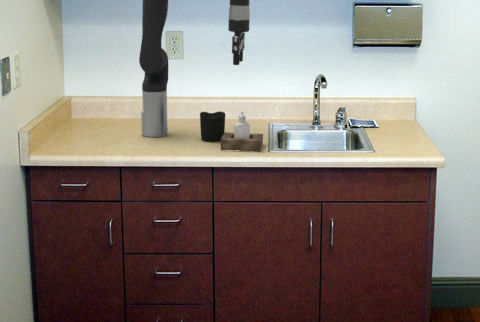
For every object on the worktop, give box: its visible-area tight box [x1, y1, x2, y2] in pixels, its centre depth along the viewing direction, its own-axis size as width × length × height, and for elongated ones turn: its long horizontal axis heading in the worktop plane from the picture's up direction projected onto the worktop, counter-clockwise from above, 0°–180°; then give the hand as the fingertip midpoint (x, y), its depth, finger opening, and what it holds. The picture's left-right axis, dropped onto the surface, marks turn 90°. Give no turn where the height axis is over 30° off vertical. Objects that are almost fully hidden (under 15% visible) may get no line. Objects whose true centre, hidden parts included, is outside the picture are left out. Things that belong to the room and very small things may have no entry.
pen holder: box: [199, 110, 226, 143], centre depth 289 cm, size 9×9×10 cm
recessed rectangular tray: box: [220, 131, 264, 152], centre depth 279 cm, size 14×11×4 cm
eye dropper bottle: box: [233, 111, 251, 139], centre depth 277 cm, size 4×6×12 cm
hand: (237, 63), depth 282 cm, fingers open, 8 cm apart
